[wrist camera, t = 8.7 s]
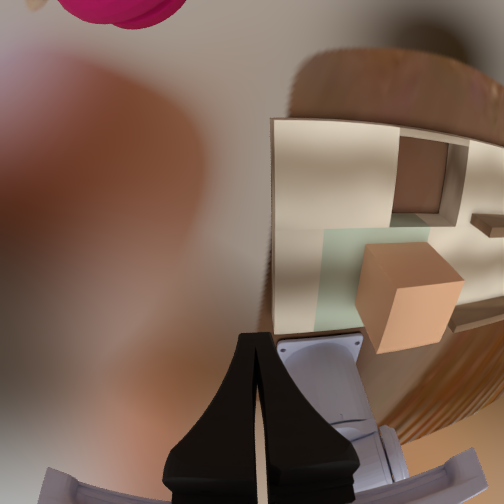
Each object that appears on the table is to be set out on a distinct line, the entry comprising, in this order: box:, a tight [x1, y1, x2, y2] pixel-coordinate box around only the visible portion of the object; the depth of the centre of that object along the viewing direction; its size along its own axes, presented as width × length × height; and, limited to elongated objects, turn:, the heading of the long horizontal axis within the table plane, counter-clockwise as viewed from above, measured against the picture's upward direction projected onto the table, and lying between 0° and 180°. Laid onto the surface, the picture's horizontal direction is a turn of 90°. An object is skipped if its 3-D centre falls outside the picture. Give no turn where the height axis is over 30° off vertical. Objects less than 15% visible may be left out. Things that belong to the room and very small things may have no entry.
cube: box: [355, 242, 465, 354], centre depth 17 cm, size 5×5×5 cm
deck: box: [270, 118, 504, 334], centre depth 19 cm, size 15×26×2 cm, turn 92°
